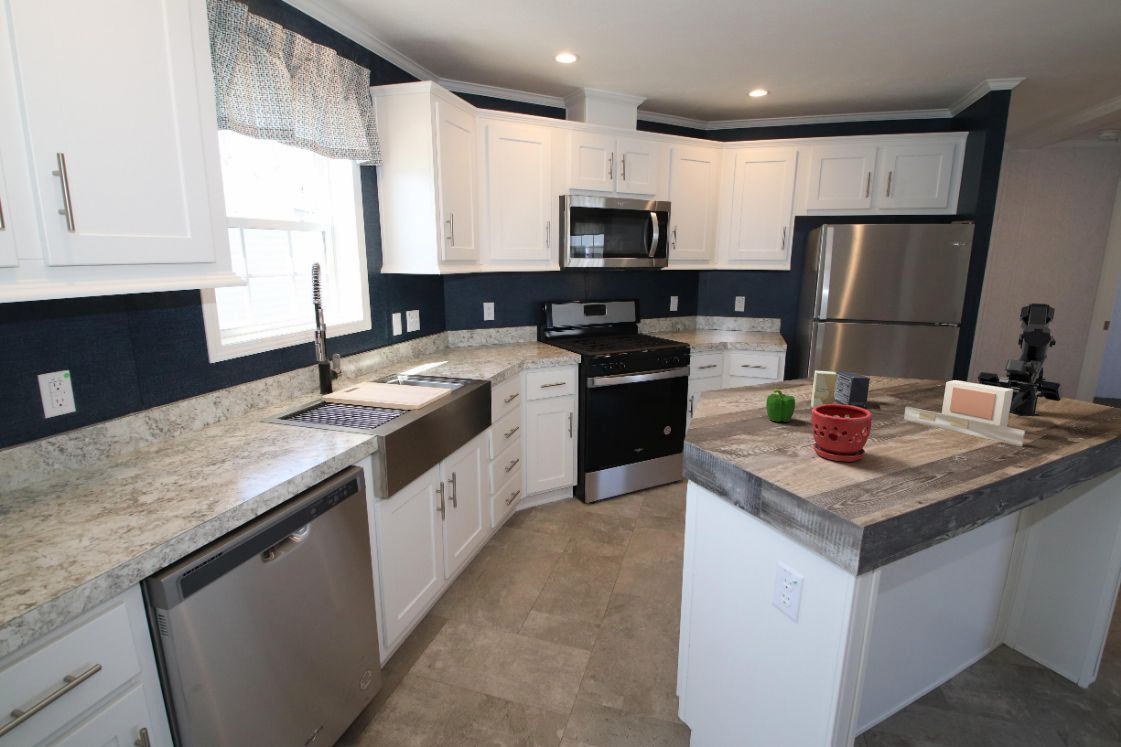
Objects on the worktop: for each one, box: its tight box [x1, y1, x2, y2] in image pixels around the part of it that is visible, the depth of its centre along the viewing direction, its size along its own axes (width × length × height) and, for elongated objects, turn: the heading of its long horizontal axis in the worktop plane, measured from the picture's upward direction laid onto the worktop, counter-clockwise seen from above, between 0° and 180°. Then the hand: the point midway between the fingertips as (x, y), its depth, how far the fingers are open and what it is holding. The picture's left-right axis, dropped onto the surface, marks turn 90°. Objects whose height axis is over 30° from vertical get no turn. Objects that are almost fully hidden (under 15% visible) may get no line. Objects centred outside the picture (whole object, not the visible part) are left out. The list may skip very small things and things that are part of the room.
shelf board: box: [903, 406, 1048, 447], centre depth 151 cm, size 18×28×6 cm, turn 32°
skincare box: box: [810, 370, 837, 409], centre depth 176 cm, size 6×4×12 cm
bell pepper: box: [765, 388, 796, 423], centre depth 162 cm, size 8×8×10 cm
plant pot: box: [811, 403, 873, 463], centre depth 132 cm, size 13×13×12 cm
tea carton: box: [941, 379, 1013, 427], centre depth 150 cm, size 10×14×12 cm
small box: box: [833, 371, 871, 409], centre depth 181 cm, size 11×6×10 cm, turn 179°
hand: (1006, 408), depth 152 cm, fingers closed
